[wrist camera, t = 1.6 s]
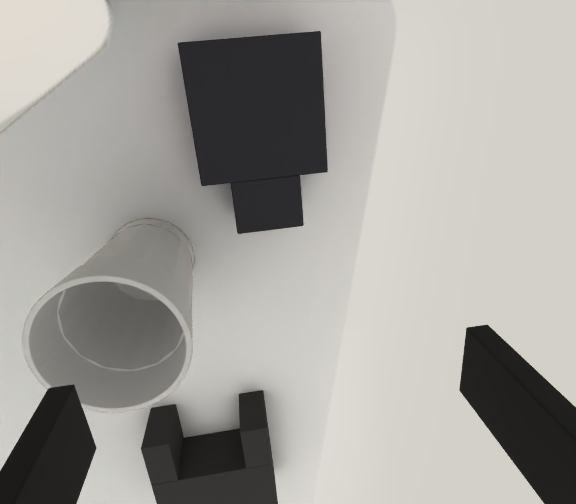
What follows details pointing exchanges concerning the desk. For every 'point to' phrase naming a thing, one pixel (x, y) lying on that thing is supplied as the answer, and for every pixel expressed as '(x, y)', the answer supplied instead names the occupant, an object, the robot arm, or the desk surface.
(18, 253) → the desk surface
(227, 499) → the notch pad
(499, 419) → the robot arm
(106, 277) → the cup
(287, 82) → the tab pad
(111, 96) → the desk surface
